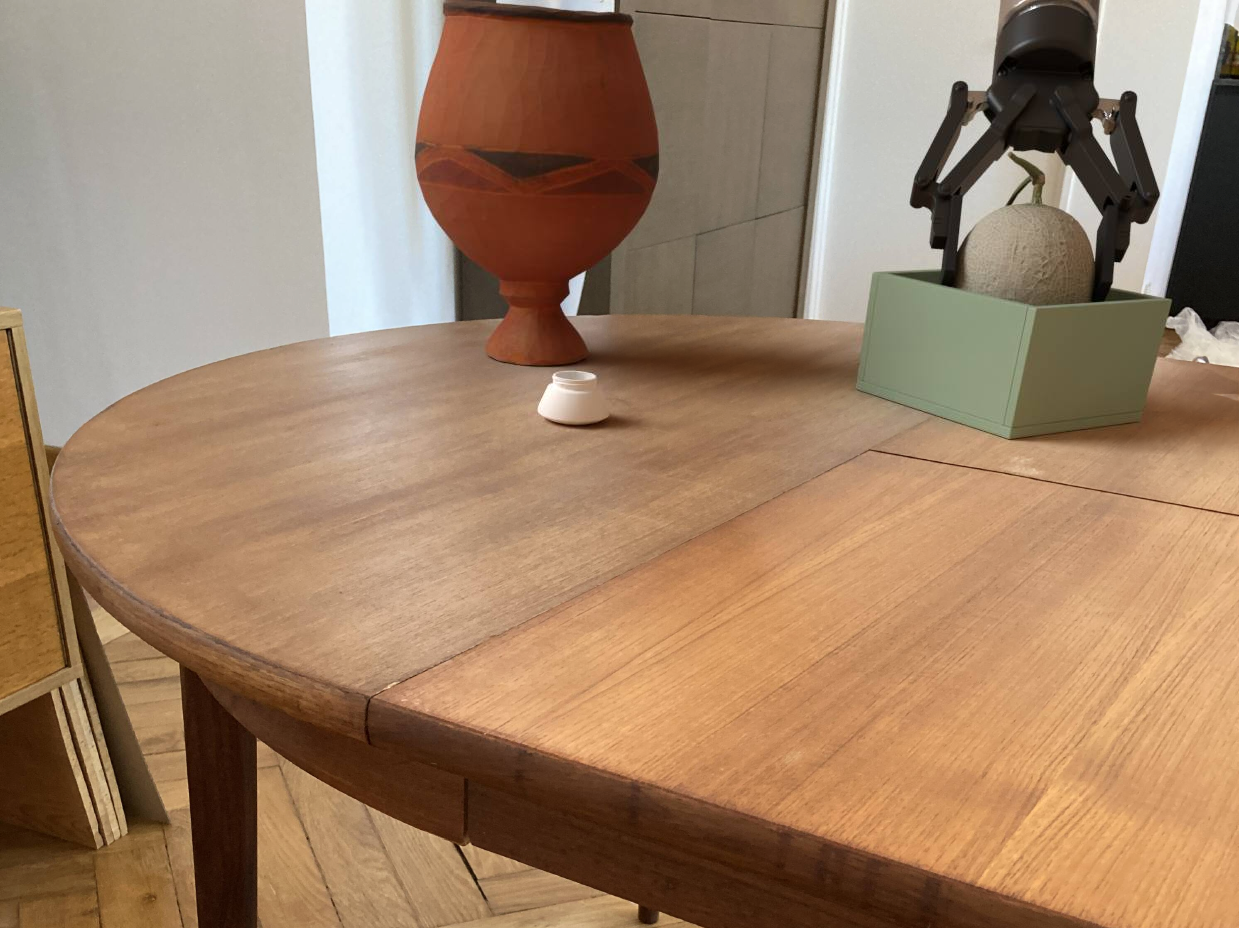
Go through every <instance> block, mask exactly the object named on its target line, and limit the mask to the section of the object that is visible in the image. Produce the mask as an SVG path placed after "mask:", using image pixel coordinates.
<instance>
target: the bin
mask: <svg viewBox="0 0 1239 928" xmlns="http://www.w3.org/2000/svg"><path fill="white" fill-rule="evenodd" d="M940 277H941V268H935V269H934V268H933V269H931V268H930V269H911V270H910V269H909V270H889V271H888V270H887V271H873V272H872V273H871V281H870V287H869V288H870V289H869V293H868V301H867V309H866V315H865V321H864V328H863V334H862V335H863V337H862V342H861V348H860V349H861V350H860V355H859V362H858V363H859V364H858V371H857V376H856V377H857V379H856V382H855V383H856V385H855V390H857V391H859V392H860V391H861V392H862V393H866V394H869V395H873V396H875V397H878V398H881V399H884V400H888V401H891V402H893V403H897V404H900V405H903V406H905V407H909V408H911V409H915V410H918V411H920V412H921V411H922V412H924V413H927V414H931V415H934V416H937V417H939V418H942V419H946V420H948V421H952V422H955V423H957V424H961V425H964V426H968V427H970V428H973V429H977V430H978V431H979V430H980V431H983V432H985V433H988V434H992V435H995V436H998V437H1001V438H1003V439H1007V440H1013V439H1022V438H1029V437H1035V436H1043V435H1049V434H1051V435H1052V434H1057V433H1065V432H1071V431H1078V430H1079V431H1080V430H1086V429H1094V428H1095V429H1096V428H1102V427H1109V426H1115V425H1117V426H1118V425H1123V424H1131V423H1138V422H1141V420H1142V416H1143V411H1144V409H1145V405H1146V401H1147V397H1148V393H1149V390H1150V386H1151V382H1152V378H1153V374H1154V371H1155V367H1156V362H1157V359H1158V355H1159V352H1160V348H1161V345H1162V340H1163V336H1164V333H1165V329H1166V326H1167V322H1168V318H1169V314H1170V310H1171V306H1172V303H1173V300H1172V299H1171V298H1166V297H1162V296H1157V295H1152V294H1146V293H1141V292H1138V291H1137V292H1136V291H1131V290H1126V289H1121V288H1116V287H1111V288H1110V290H1109V292H1108V295H1107V297H1106V299H1105V301H1104V302H1095V303H1092V300H1091V303H1079V304H1064V305H1049V306H1033V305H1028V304H1024V303H1019V302H1015V301H1010V300H1006V299H1001V298H997V297H992V296H988V295H983V294H979V293H974V292H970V291H965V290H961V289H956V288H952V287H947V286H943V285H940Z"/></svg>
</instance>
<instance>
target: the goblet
mask: <svg viewBox="0 0 1239 928" xmlns="http://www.w3.org/2000/svg"><path fill="white" fill-rule="evenodd" d="M442 14H443V15H444V17H445V19H444V22H443V26H442V30H441V35H440V39H439V42H438V43H439V44H438V47H437V50H436V54H435V56H434V59H433V62H432V64H431V68H430V71H429V73H428V78H427V80H426V84H425V87H424V92H423V93H422V99H421V104H420V109H419V115H418V119H417V126H416V134H415V135H416V136H415V143H414V144H415V145H414V164H415V172H416V179H417V183H418V186H419V188H420V191H421V194H422V197H423V200H424V203H425V204H426V206H427V208H428V210H429V212H430V214H431V216H432V217H433V219H434V220H435V222H436V223H437V224H438V226H439V227H440V228H441V230H442V231H443V232H444V234H445V235H446V236H447V237H448V239H449V240H450V241H451V242H452V243H453V244H454V245H455V247H457V249H459V251H461V253H462V254H464V256H465V257H467V258H468V259H469V260H471V261H472V262H474V263H475V264H476V265H478V266H480V267H481V268H482V269H484V270H485V271H487V272H488V273H490V274H492V275H493V276H495V277H496V278H498V280H499V292H498V293H499V295H500V296H501V297H502V298H503V299H504V300H505V301H506V303H507V304H508V306H509V308H508V311H507V313H506V315H505V317H504V318H503V319H502V321H501V322H500V323H499V324H498V326H497V327H496V328H495V329H494V331H493V332H492V334H491V335H490V337H489V338H488V340H487V342H486V344H485V349H484V350H485V351H484V352H485V354H486V355H487V356H488V357H490V358H492V359H494V360H497V361H500V362H504V363H509V364H514V365H520V366H540V367H544V366H545V367H546V366H547V367H548V366H562V365H563V366H564V365H569V364H575V363H578V362H580V361H582V360H585V359H586V358H588V356H589V350H588V347H587V344H586V342H585V340H584V339H583V337H582V336H581V334H580V333H579V331H578V330H577V328H576V327H575V326H574V325H573V323H572V322H571V321H570V320H569V319H568V317H567V316H566V314H565V312H564V310H563V308H562V306H561V304H562V303H563V302H564V301H565V300H566V299H567V298H568V297H569V296H570V295H571V292H570V281H571V280H573V279H574V278H576V277H578V276H579V275H581V274H583V273H585V272H586V271H589V270H590V269H592V268H593V267H595V266H596V265H597V264H599V263H600V262H602V260H604V259H605V258H606V257H607V256H608V255H610V254H611V253H613V251H615V249H617V248H618V247H619V245H620V244H621V243H622V242H623V241H624V240H625V239H626V238H627V237H628V236H629V235H630V233H631V232H632V231H633V230H634V229H635V227H636V226H637V225H638V223H639V222H640V220H641V219H642V218H643V216H644V215H645V213H646V211H647V209H648V207H649V205H650V203H651V200H652V198H653V194H654V192H655V189H656V187H657V184H658V179H659V173H660V144H659V130H658V126H657V119H656V115H655V110H654V106H653V101H652V96H651V92H650V89H649V86H648V81H647V78H646V76H645V75H646V74H645V71H644V68H643V65H642V61H641V58H640V55H639V51H638V47H637V44H636V40H635V37H634V33H633V30H632V27H633V25H634V21H635V20H634V19H633V17H632V15H631V14H628V13H623V12H621V11H619V12H618V11H617V12H615V11H599V12H598V11H593V10H571V9H561V8H553V7H545V6H540V5H539V6H538V5H526V4H514V3H500V2H494V1H493V2H492V1H483V0H445V1H444V2H443V3H442Z"/></svg>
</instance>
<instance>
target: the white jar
mask: <svg viewBox="0 0 1239 928" xmlns="http://www.w3.org/2000/svg"><path fill="white" fill-rule="evenodd" d="M551 377H552V382H551V383H549V384H548V385H547V386H546V389H545V391H544V393H543V395H542V397H541V399H540V402H539V404H538V406H537V413H538V414H539V415H540V416H542V417H543V418H545V419H546V420H549V421H552V422H555V423H557V424H563V425H573V426H581V425H583V426H585V425H589V424H596V423H599V422H600V421H603V420H605V419H607V418H609V416H610V405H609V403H608V401H607V398H606V396H605V393H604V391H603V388H602V387H601V386H599V385H598V384H597V382H598V379H597V375H596V374H594V373H591V372H589V371H588V372H587V371H581V370H561V371H557V372H554V373H553V375H552V376H551Z"/></svg>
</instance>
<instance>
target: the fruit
mask: <svg viewBox="0 0 1239 928" xmlns="http://www.w3.org/2000/svg"><path fill="white" fill-rule="evenodd" d="M1006 156H1007V157H1008V158H1009V159H1010V160H1011V161H1012V162H1013V163H1015V164H1016V165H1018V166H1019V167H1021V168H1022V169H1023V170H1025V171H1026V173H1027V174H1028V176H1027V177H1026V178H1024V180H1023V181H1022V182H1021V183H1020V184H1019V185H1018V186H1017V187H1016V188H1015V190H1014V191H1013V193H1012V194H1011V196H1010V197H1009V199H1008V201H1007V202H1006V204H1005V205H1004V206H1003V207H999V208H997V209H994V210H993V211H992V212H990V213H988V214H986V215H985V216H984V217H983V218H981V219H979V221H978V222H977V223H976V224H975V225H974V226H973V227H972V228H971V230H969V232H967V234H966V236H965V237H964V239H963V240H962V242H961V244H960V246H958V249H957V258H956V268H955V274H954V277H953V281H952V285H951V287H952V288H956V289H961V290H965V291H970V292H974V293H979V294H983V295H988V296H992V297H997V298H1001V299H1006V300H1010V301H1015V302H1019V303H1024V304H1028V305H1033V306H1049V305H1064V304H1079V303H1091V300H1092V295H1093V291H1094V283H1095V254H1094V251H1093V247H1092V244H1091V241H1090V239H1089V237H1088V235H1087V232H1086V230H1085V229H1084V227H1083V226H1082V225H1081V223H1080V222H1079V221H1078V220H1076V218H1075V217H1074V216H1073V215H1071V214H1070V213H1068V212H1067V211H1065V210H1063V209H1061V208H1058V207H1055V206H1051V205H1047V204H1044V203H1043V198H1042V195H1043V187H1044V186H1045V184H1046V174H1045V173H1044V172H1043V170H1041V169H1039V167H1038V166H1036V165H1034V164H1033V163H1032V162H1030V161H1028V160H1026V159H1025V158H1022V157H1019V156H1017V155H1016V154H1015V153H1013V151H1009V152H1007V154H1006ZM1030 183H1031V185H1032V186H1033V188H1032V196H1031V200H1030V202H1025V203H1024V202H1023V203H1016V204H1014V202H1015V201H1016V199H1017V197H1018V195H1019V194H1020V193H1021V192H1023V190H1024V189H1025V188H1026V187H1027V186H1028V185H1029V184H1030Z"/></svg>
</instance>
